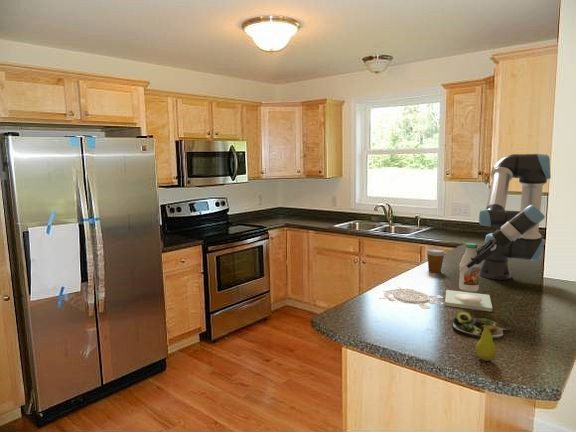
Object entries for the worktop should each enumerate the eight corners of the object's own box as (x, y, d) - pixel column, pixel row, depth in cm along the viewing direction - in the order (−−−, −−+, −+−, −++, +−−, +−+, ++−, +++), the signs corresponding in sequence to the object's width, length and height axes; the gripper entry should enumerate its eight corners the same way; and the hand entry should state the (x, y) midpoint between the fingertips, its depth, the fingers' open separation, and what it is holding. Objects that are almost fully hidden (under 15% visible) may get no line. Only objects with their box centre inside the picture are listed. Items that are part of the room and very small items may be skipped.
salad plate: (507, 325, 153) (508, 313, 153) (514, 344, 137) (515, 331, 136) (452, 317, 161) (452, 306, 160) (452, 335, 144) (452, 322, 144)
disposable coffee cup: (436, 268, 231) (437, 247, 230) (447, 273, 223) (448, 251, 221) (421, 270, 228) (423, 249, 227) (433, 274, 220) (434, 252, 218)
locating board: (446, 292, 189) (446, 289, 189) (489, 298, 182) (489, 294, 182) (444, 305, 173) (445, 301, 172) (492, 311, 166) (492, 307, 165)
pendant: (392, 286, 200) (392, 284, 200) (450, 298, 183) (451, 295, 182) (372, 298, 183) (372, 295, 183) (434, 312, 166) (435, 309, 166)
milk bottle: (456, 289, 176) (458, 243, 173) (462, 285, 182) (465, 241, 179) (474, 293, 171) (477, 246, 168) (480, 289, 176) (484, 243, 174)
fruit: (492, 366, 121) (495, 328, 120) (472, 360, 125) (474, 322, 124) (497, 359, 126) (500, 322, 124) (478, 353, 130) (480, 317, 128)
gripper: (516, 246, 158) (467, 282, 166) (510, 237, 177) (466, 270, 185) (501, 232, 159) (454, 268, 168) (497, 224, 178) (455, 257, 186)
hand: (461, 269), depth 176 cm, fingers closed on milk bottle, 7 cm apart
